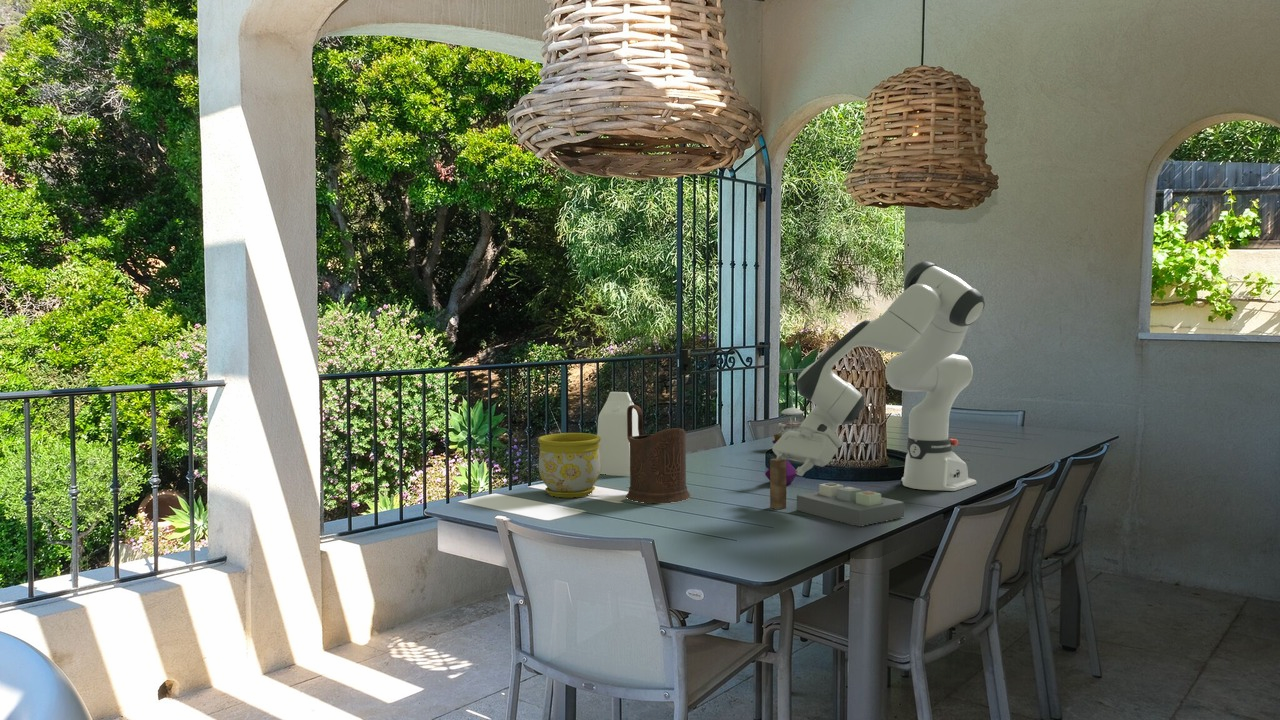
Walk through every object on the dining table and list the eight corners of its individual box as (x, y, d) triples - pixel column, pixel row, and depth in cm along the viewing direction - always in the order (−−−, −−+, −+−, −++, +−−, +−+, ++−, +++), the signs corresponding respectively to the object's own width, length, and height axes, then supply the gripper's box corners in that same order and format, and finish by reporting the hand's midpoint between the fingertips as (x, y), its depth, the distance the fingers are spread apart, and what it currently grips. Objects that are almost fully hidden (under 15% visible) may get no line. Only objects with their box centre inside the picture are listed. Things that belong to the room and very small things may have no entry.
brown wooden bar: (778, 506, 247) (778, 458, 246) (786, 508, 244) (786, 459, 243) (770, 507, 245) (770, 459, 244) (777, 509, 243) (777, 460, 242)
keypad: (840, 502, 250) (840, 487, 250) (904, 517, 232) (904, 502, 232) (796, 510, 242) (796, 495, 241) (859, 527, 223) (859, 510, 223)
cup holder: (649, 507, 247) (648, 415, 246) (603, 492, 267) (601, 406, 266) (704, 498, 258) (703, 409, 256) (655, 484, 278) (654, 402, 276)
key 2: (867, 504, 234) (868, 489, 234) (881, 507, 231) (881, 492, 230) (855, 506, 232) (855, 492, 232) (868, 509, 228) (869, 495, 228)
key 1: (831, 495, 245) (831, 481, 245) (843, 498, 242) (843, 484, 241) (819, 497, 243) (819, 483, 243) (831, 500, 239) (831, 486, 239)
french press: (804, 447, 343) (804, 380, 341) (807, 452, 331) (807, 383, 329) (778, 446, 344) (777, 380, 342) (779, 452, 332) (779, 383, 330)
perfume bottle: (786, 487, 271) (786, 426, 270) (764, 484, 275) (764, 424, 274) (798, 483, 277) (798, 423, 276) (776, 480, 281) (776, 421, 280)
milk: (644, 470, 301) (643, 391, 299) (630, 476, 290) (629, 394, 288) (610, 467, 305) (609, 390, 303) (595, 474, 295) (594, 393, 293)
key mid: (849, 499, 240) (849, 485, 240) (861, 502, 236) (861, 488, 236) (836, 502, 237) (837, 487, 237) (849, 505, 234) (849, 490, 233)
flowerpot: (546, 502, 255) (545, 443, 253) (533, 489, 272) (532, 434, 271) (608, 497, 260) (608, 439, 259) (592, 485, 277) (591, 431, 276)
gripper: (784, 420, 256) (756, 458, 252) (834, 428, 238) (804, 469, 234) (797, 435, 259) (769, 473, 254) (847, 444, 241) (818, 485, 237)
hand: (786, 471), depth 244 cm, fingers open, 8 cm apart
